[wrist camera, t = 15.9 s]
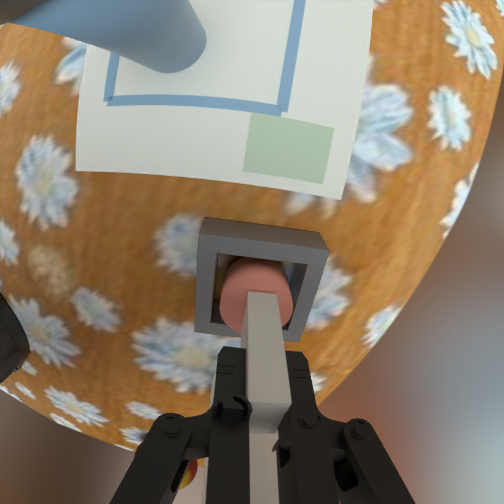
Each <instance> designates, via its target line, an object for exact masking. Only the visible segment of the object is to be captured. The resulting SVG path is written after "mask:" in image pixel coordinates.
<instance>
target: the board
mask: <svg viewBox="0 0 504 504" xmlns="http://www.w3.org/2000/svg"><path fill="white" fill-rule="evenodd" d="M189 2H190V4H191V5H192V7H193V9H194V11H195V13H196V15H197V17H198V19H199V21H200V22H201V24H202V26H203V28H204V30H205V33H206V46H205V49H204V51H203V53H202V55H201V56H200V58H199V59H198V60H197V61H196V62H195V63H194V64H192V65H191V66H190V67H188V68H186V69H184V70H182V71H179V72H175V73H160V72H156V71H154V70H152V69H150V68H148V67H145V66H143V65H141V64H139V63H136V62H134V61H132V60H129V59H127V58H125V57H122V56H120V55H117V54H115V53H112V52H110V51H107V50H104V49H102V48H99V47H96V46H93V45H91V44H88V46H87V51H86V56H85V61H84V66H83V72H82V79H81V86H80V94H79V103H78V114H77V129H76V171H96V172H122V173H140V174H155V175H167V176H179V177H190V178H199V179H209V180H218V181H226V182H234V183H242V184H249V185H256V186H263V187H270V188H276V189H283V190H289V191H295V192H301V193H306V194H312V195H317V196H323V197H328V198H333V199H338V200H341V197H342V193H343V189H344V185H345V181H346V176H347V172H348V168H349V163H350V159H351V154H352V149H353V145H354V140H355V135H356V130H357V124H358V119H359V113H360V108H361V102H362V96H363V90H364V83H365V76H366V69H367V62H368V54H369V45H370V36H371V25H372V13H373V0H189Z"/></svg>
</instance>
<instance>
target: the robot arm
mask: <svg viewBox="0 0 504 504" xmlns="http://www.w3.org/2000/svg"><path fill="white" fill-rule="evenodd" d="M28 355H29V347H28V343H27V340H26V337H25V335H24V332H23V330H22V328H21V326H20V324H19V323H18V321H17V319H16V317H15V316H14V314H13V313H12V311H11V309H10V308H9V306H8V305H7V304H6V302H5V301H4V299H3V298H2V297H1V295H0V383H1V382H3V381H4V380H5V379H6V378H7V377H8V376H10V375H11V374H12V372H15V371H18V370H19V369H20V368H21V367H22V365H23V364H24V362H25V360H26V359H27V357H28ZM277 429H278V440H277V441H276V443H275V444H274V446H273V448H272V452H274V451H275V450H276V460H277V476H278V493H279V504H339V501H340V503H341V504H415V502H414V500H413V499H412V497H411V495H410V493H409V491H408V489H407V488H406V486H405V484H404V482H403V480H402V478H401V477H400V475H399V473H398V471H397V469H396V468H395V466H394V464H393V462H392V461H391V459H390V457H389V455H388V453H387V452H386V450H385V448H384V447H383V445H382V443H381V441H380V439H379V438H378V436H377V434H376V432H375V431H374V429H373V427H372V426H371V424H370V423H369V422H367V421H366V420H364V419H359V418H356V419H352V420H350V421H348V422H347V423H344V422H339V421H335V420H331V419H328V418H326V417H325V416H323V415H322V414H321V413H320V412H319V410H318V408H317V405H316V401H315V395H314V390H313V385H312V380H311V375H310V371H309V365H308V360H307V359H306V357H305V356H304V355H303V353H302V352H296V351H285V348H284V340H283V333H282V326H281V319H280V312H279V305H278V298H277V294H273V293H263V292H255V291H248V295H247V301H246V307H245V313H244V318H243V324H242V333H241V348H236V347H226V346H223V348H222V349H221V351H220V352H219V354H218V359H217V369H216V379H215V389H214V399H213V404H212V406H211V408H210V409H209V410H208V411H207V412H206V413H204V414H202V415H198V416H193V417H185V418H184V417H183V416H181V415H179V414H175V413H166V414H163V415H161V416H159V417H158V418H157V419H156V420H155V421H154V423H153V425H152V427H151V429H150V431H149V432H148V434H147V436H146V438H145V440H144V441H143V443H142V445H141V447H140V449H139V451H138V452H137V454H136V456H135V458H134V460H133V462H132V463H131V465H130V467H129V469H128V471H127V472H126V474H125V476H124V478H123V480H122V482H121V483H120V485H119V487H118V489H117V491H116V492H115V494H114V496H113V498H112V500H111V502H110V503H109V504H172V502H173V501H174V498H175V496H176V494H177V492H178V489H179V487H180V485H181V482H182V480H183V478H184V476H185V473H186V471H187V469H188V466H189V464H190V462H191V460H195V459H201V458H207V457H208V471H207V486H206V502H205V504H250V448H249V433H263V434H275V433H276V431H277Z"/></svg>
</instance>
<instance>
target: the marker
mask: <svg viewBox="0 0 504 504" xmlns="http://www.w3.org/2000/svg"><path fill="white" fill-rule="evenodd" d="M5 23H13V24H18V25H23V26H28V27H32V28H37V29H41V30H45V31H49V32H52V33H56V34H59V35H63V36H66V37H69V38H73V39H76V40H79V41H82V42H85V43H88V44H91V45H93V46H96V47H99V48H102V49H104V50H107V51H110V52H112V53H115V54H117V55H120V56H122V57H125V58H127V59H129V60H132V61H134V62H136V63H139V64H141V65H143V66H145V67H148V68H150V69H152V70H154V71H156V72H160V73H175V72H179V71H182V70H184V69H186V68H188V67H190V66H191V65H192V64H194V63H195V62H196V61H197V60H198V59H199V58H200V56H201V55H202V53H203V51H204V49H205V46H206V33H205V30H204V28H203V26H202V24H201V22H200V21H199V19H198V17H197V15H196V13H195V11H194V9H193V7H192V5H191V4H190V2H189V0H0V25H1V24H5Z"/></svg>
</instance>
